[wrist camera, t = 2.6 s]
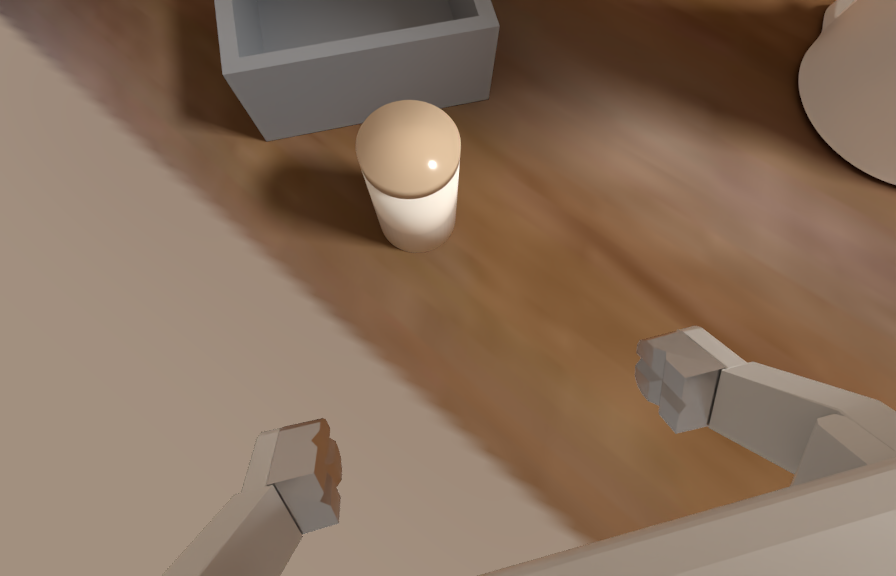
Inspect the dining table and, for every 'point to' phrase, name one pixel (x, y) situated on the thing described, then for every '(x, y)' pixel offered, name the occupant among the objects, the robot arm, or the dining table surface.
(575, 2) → the dining table surface
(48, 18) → the dining table surface
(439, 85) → the tote
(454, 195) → the jar
